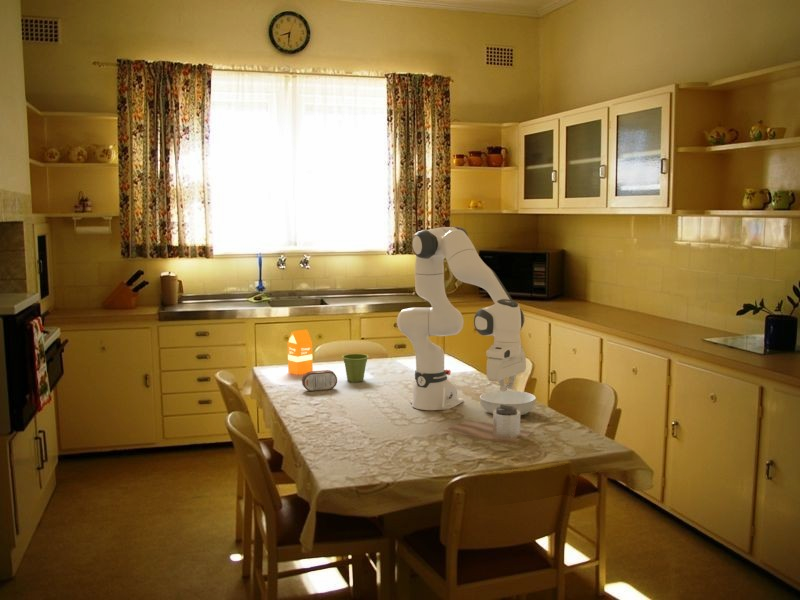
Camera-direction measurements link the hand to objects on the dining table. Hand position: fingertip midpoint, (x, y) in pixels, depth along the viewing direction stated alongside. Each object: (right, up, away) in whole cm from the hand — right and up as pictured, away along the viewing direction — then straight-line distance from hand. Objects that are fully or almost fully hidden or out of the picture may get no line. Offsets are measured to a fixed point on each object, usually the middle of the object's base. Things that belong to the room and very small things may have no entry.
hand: (506, 389), depth 251 cm
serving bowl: (+5, -13, +32) cm, 35 cm away
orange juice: (-83, -5, +106) cm, 135 cm away
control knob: (0, -11, +1) cm, 11 cm away
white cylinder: (0, -16, +2) cm, 16 cm away
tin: (-70, -9, +71) cm, 100 cm away
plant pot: (-56, -7, +88) cm, 104 cm away
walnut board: (-5, -17, +6) cm, 18 cm away
